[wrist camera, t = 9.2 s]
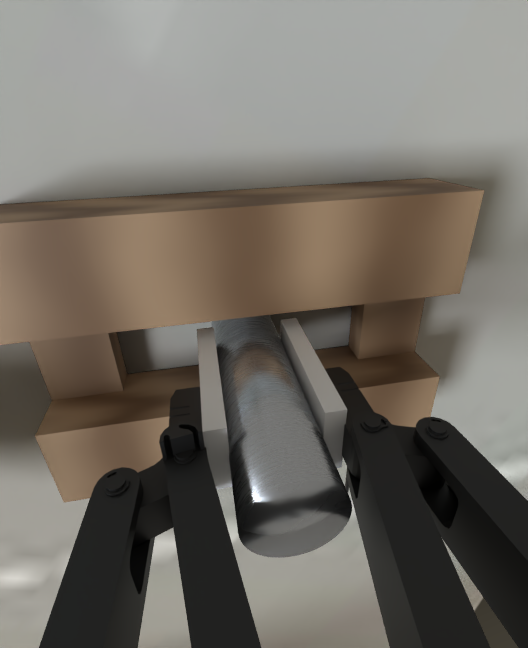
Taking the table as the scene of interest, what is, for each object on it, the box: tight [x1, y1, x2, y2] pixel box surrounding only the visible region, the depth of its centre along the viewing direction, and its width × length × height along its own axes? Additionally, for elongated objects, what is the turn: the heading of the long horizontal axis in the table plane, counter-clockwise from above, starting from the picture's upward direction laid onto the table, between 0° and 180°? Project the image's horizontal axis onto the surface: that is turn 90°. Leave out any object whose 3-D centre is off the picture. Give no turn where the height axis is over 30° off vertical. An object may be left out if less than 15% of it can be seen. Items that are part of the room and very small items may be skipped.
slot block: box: [0, 178, 484, 502], centre depth 19 cm, size 20×14×4 cm
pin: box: [212, 315, 352, 557], centre depth 15 cm, size 3×3×12 cm
